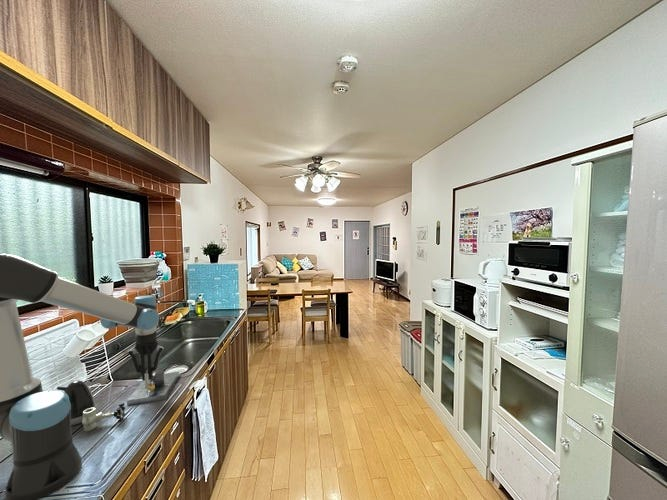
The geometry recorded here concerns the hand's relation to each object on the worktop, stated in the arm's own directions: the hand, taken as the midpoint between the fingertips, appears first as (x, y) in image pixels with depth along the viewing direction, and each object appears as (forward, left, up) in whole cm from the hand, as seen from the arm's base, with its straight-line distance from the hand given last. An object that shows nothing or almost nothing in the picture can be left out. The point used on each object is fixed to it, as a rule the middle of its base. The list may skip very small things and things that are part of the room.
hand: (147, 386), depth 121 cm
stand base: (+8, 0, -5) cm, 9 cm away
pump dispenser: (-9, +21, -5) cm, 23 cm away
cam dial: (+4, -1, -3) cm, 5 cm away
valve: (-15, +10, -5) cm, 19 cm away
